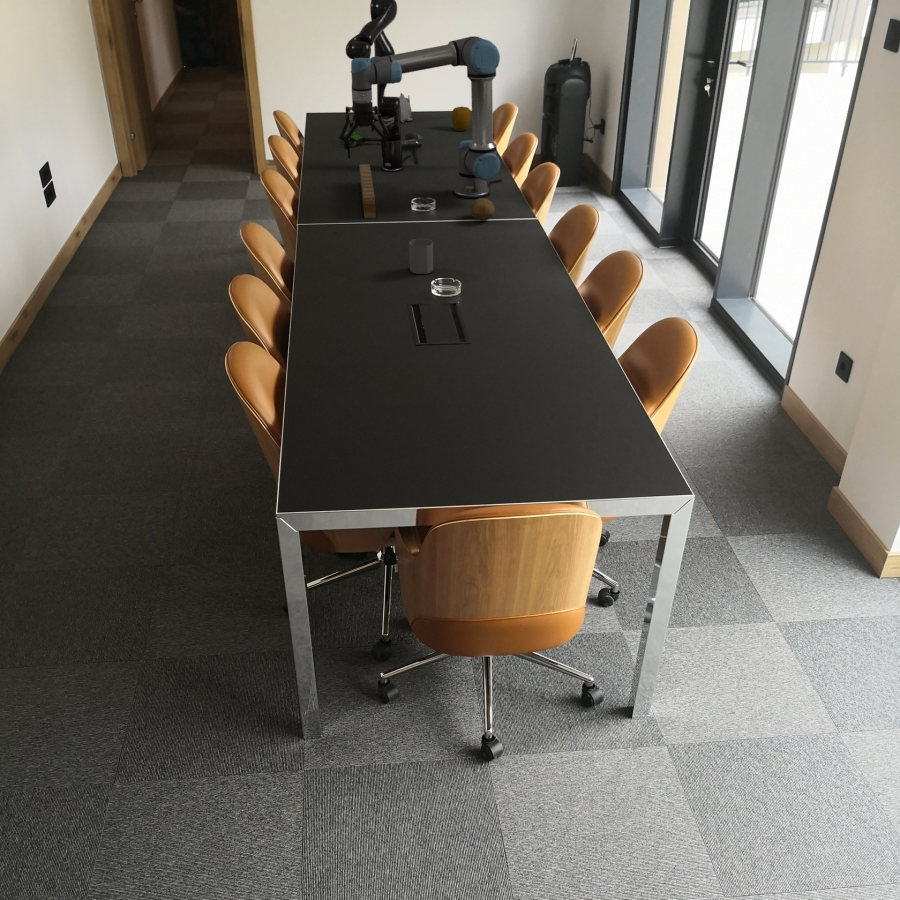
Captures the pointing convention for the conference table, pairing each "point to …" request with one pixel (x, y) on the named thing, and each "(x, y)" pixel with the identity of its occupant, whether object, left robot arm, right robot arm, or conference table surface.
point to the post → (367, 191)
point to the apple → (461, 118)
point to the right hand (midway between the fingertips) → (366, 157)
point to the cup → (421, 256)
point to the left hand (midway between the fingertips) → (362, 131)
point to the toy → (404, 109)
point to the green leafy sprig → (359, 139)
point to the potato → (482, 209)
